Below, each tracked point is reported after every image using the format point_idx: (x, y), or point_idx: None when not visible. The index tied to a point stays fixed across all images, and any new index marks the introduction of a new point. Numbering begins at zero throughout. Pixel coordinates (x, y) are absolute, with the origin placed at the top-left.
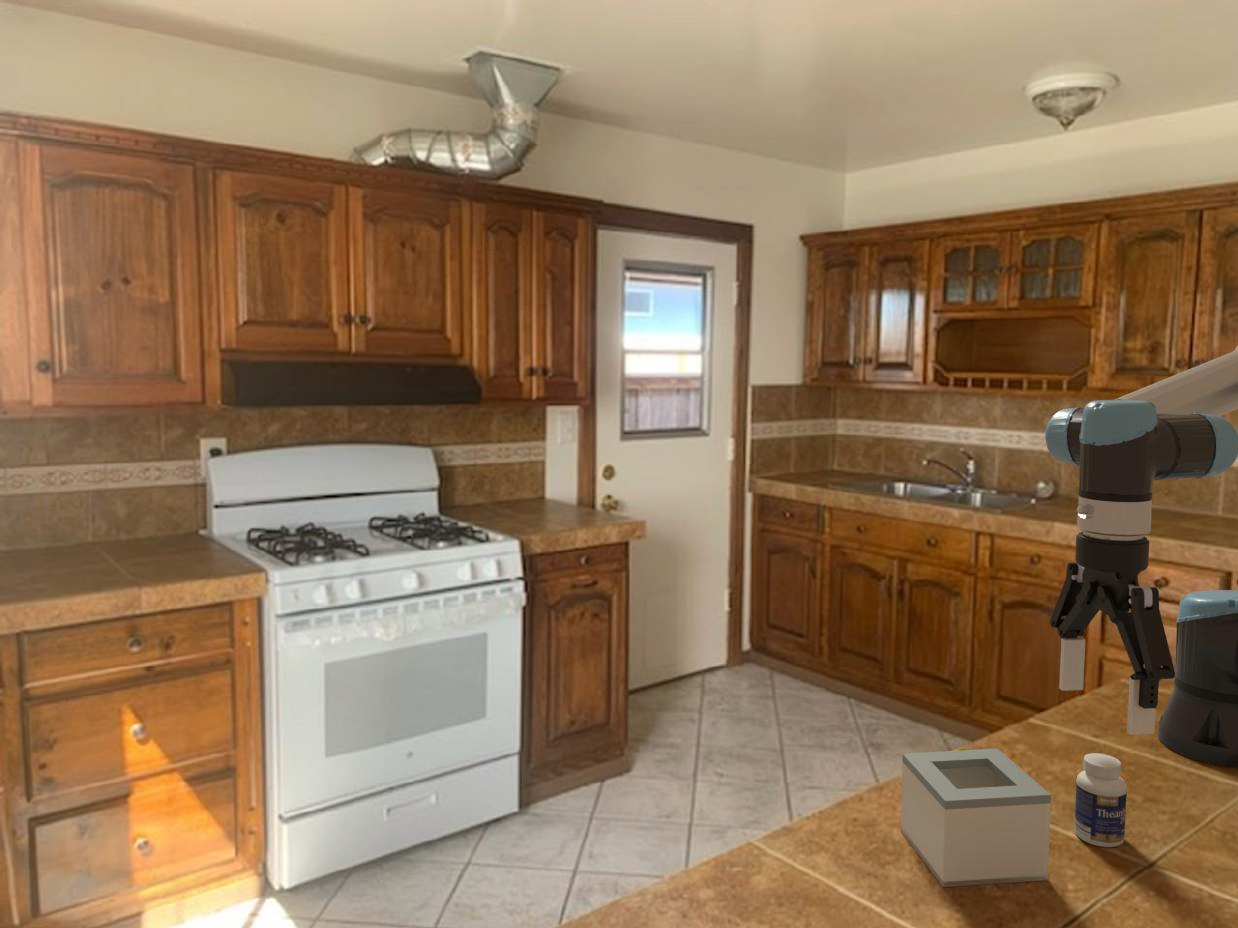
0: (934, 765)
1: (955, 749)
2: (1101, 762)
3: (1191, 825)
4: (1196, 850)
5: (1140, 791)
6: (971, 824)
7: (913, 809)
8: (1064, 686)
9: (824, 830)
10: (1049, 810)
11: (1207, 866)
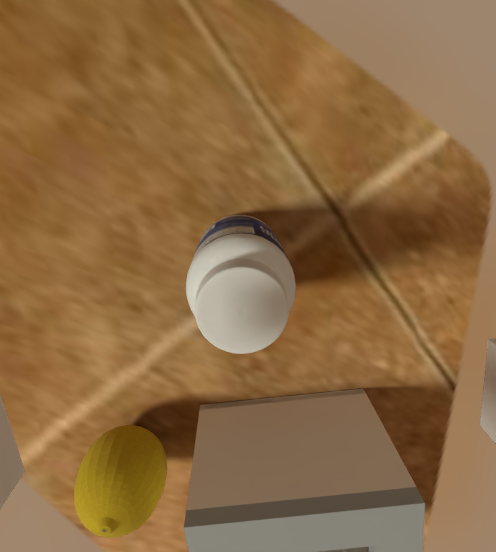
0: None
1: (92, 529)
2: (257, 321)
3: (193, 34)
4: (293, 91)
5: (34, 61)
6: None
7: None
8: (14, 480)
9: None
10: (409, 475)
11: (350, 106)
